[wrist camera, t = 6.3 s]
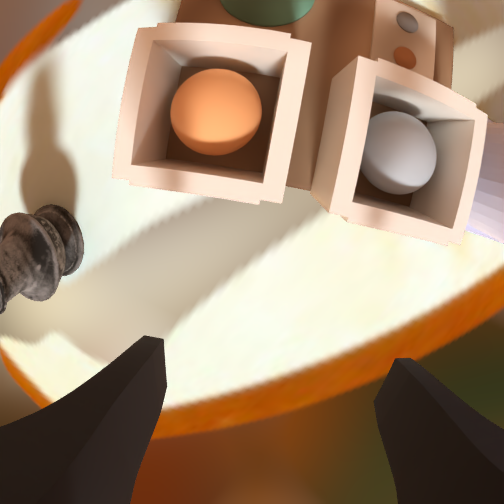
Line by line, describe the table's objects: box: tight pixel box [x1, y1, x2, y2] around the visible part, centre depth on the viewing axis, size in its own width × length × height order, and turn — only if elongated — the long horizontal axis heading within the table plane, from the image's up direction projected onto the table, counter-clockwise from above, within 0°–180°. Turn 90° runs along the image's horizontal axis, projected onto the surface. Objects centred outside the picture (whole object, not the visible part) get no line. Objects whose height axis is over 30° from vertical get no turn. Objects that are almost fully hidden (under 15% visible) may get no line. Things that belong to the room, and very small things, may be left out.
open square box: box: [310, 56, 488, 246], centre depth 12 cm, size 7×7×4 cm
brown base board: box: [166, 0, 453, 207], centre depth 13 cm, size 16×14×2 cm
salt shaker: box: [0, 204, 84, 314], centre depth 12 cm, size 6×6×12 cm
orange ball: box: [170, 69, 262, 156], centre depth 12 cm, size 4×4×4 cm
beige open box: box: [112, 23, 312, 205], centre depth 12 cm, size 7×7×4 cm
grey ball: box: [360, 111, 437, 195], centre depth 12 cm, size 4×4×4 cm
